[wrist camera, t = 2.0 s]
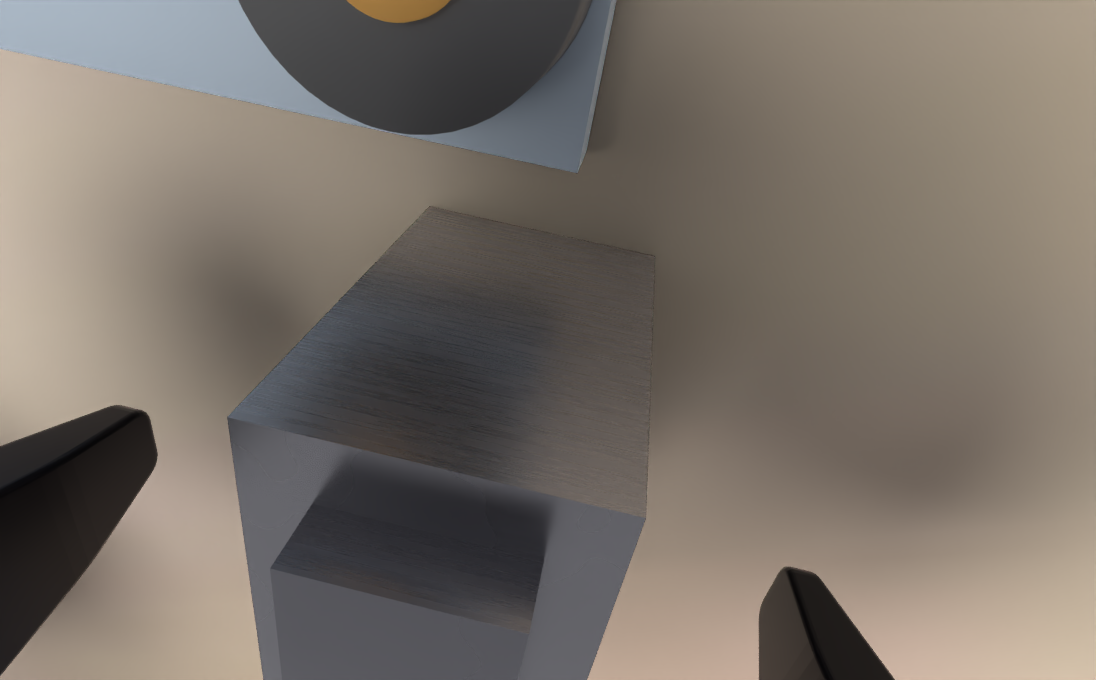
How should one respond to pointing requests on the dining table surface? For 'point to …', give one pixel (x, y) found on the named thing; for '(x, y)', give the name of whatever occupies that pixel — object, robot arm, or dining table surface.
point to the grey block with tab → (452, 461)
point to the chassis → (356, 61)
